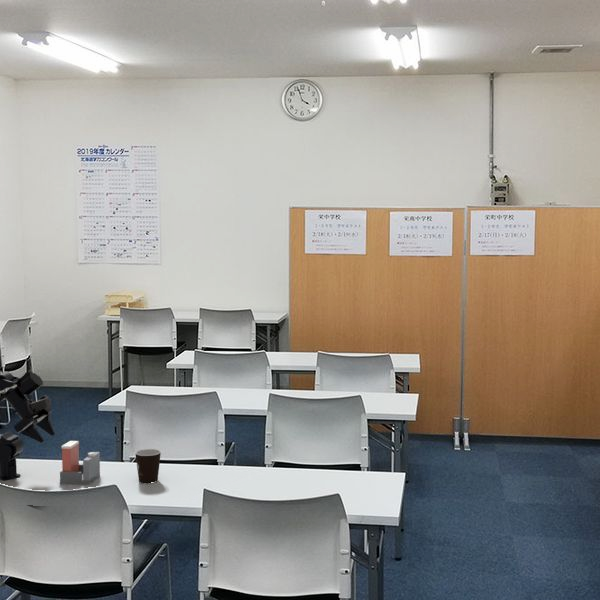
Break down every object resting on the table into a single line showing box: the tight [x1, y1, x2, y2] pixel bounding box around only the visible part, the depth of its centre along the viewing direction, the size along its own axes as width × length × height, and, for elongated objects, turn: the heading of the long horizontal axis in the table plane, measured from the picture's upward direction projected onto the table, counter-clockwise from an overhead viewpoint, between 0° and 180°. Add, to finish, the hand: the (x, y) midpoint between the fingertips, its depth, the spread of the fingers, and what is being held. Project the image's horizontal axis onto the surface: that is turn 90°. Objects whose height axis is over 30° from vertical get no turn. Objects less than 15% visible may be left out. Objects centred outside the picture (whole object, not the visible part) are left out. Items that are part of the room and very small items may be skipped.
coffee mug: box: [134, 448, 162, 484], centre depth 265 cm, size 12×9×10 cm
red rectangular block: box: [61, 440, 80, 472], centre depth 265 cm, size 3×7×11 cm, turn 174°
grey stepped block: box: [59, 451, 101, 486], centre depth 265 cm, size 10×10×10 cm
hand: (48, 438), depth 265 cm, fingers open, 9 cm apart
